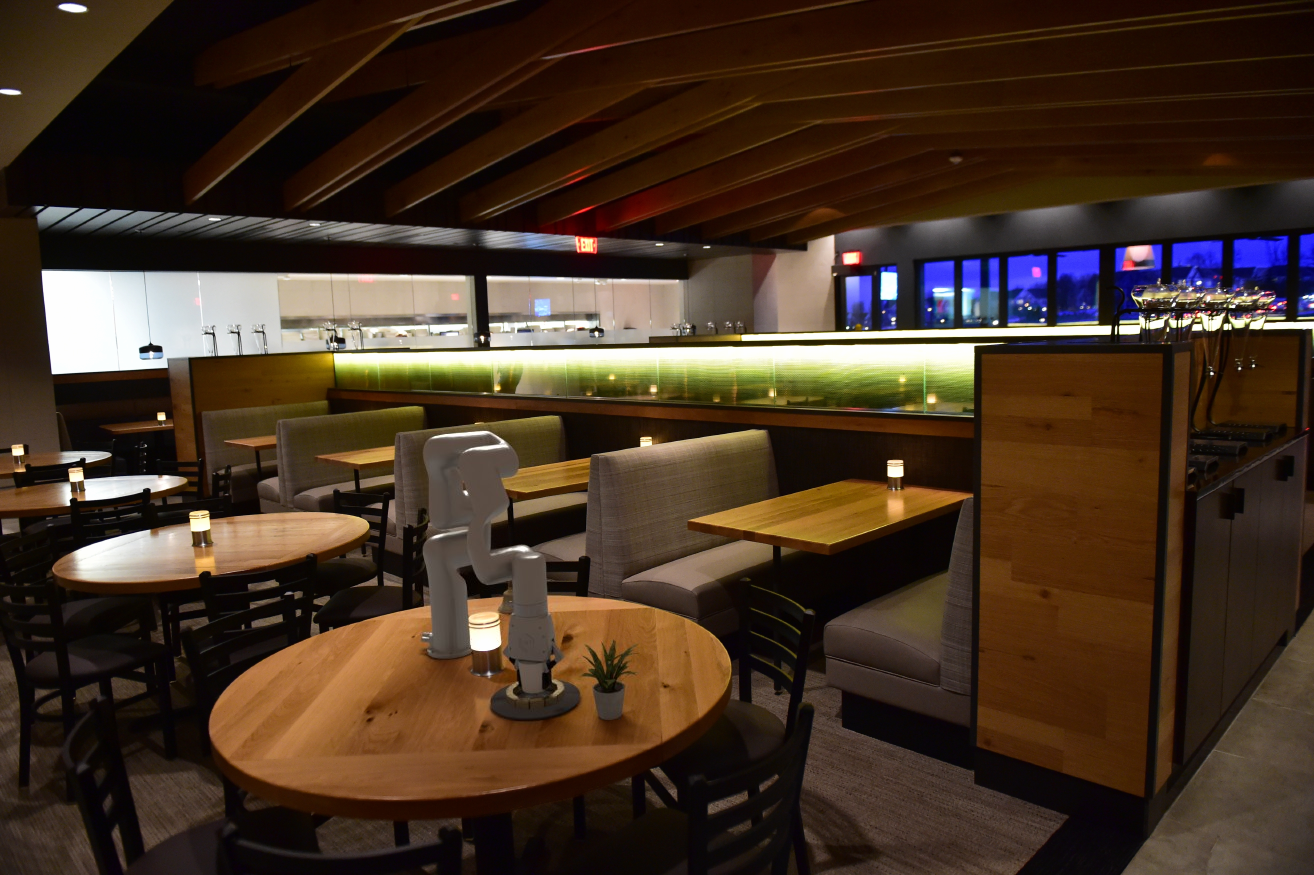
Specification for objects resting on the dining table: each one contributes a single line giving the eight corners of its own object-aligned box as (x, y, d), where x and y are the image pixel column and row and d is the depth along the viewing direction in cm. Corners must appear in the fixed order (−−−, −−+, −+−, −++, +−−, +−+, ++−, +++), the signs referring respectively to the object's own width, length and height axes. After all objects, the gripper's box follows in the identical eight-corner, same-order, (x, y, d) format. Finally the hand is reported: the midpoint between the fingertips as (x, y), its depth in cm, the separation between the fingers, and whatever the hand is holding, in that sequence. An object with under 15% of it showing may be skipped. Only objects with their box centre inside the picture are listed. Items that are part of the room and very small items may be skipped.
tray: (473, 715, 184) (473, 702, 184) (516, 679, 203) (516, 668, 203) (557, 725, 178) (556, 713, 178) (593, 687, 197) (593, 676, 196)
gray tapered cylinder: (553, 682, 193) (551, 652, 192) (546, 694, 186) (544, 664, 186) (524, 681, 194) (522, 652, 193) (516, 694, 187) (514, 664, 186)
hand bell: (529, 605, 260) (526, 554, 258) (519, 614, 252) (517, 562, 250) (503, 604, 262) (500, 554, 260) (493, 613, 254) (490, 561, 252)
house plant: (651, 727, 176) (649, 651, 174) (585, 735, 173) (582, 659, 171) (638, 699, 190) (636, 629, 188) (577, 706, 187) (574, 635, 185)
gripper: (488, 610, 187) (492, 689, 189) (558, 616, 182) (562, 697, 184) (504, 600, 194) (508, 676, 196) (572, 605, 189) (576, 683, 191)
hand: (534, 685), depth 190 cm, fingers closed on gray tapered cylinder, 5 cm apart
